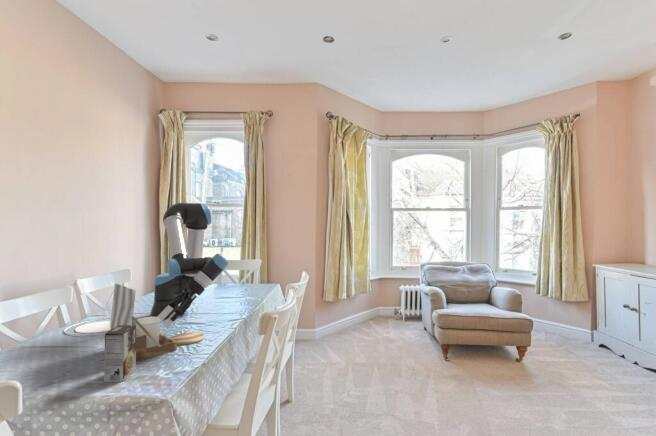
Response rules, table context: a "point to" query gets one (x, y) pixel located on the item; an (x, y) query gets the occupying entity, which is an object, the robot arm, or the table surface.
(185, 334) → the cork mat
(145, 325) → the candle holder
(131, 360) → the coffee box
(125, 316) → the cold frame
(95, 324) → the plate
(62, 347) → the table surface
